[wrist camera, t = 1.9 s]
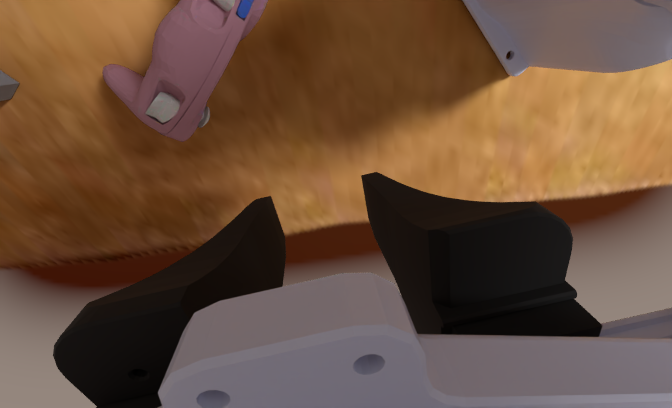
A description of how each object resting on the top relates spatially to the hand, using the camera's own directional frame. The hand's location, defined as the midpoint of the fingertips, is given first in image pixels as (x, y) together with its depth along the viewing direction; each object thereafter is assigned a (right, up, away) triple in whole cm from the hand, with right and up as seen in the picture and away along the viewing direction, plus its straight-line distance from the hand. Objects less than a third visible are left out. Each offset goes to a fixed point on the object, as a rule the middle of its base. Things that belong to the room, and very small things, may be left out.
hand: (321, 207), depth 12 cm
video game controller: (-7, +10, +5) cm, 13 cm away
